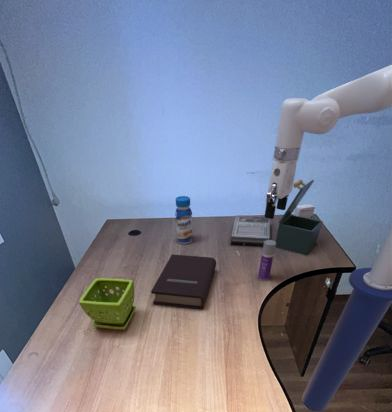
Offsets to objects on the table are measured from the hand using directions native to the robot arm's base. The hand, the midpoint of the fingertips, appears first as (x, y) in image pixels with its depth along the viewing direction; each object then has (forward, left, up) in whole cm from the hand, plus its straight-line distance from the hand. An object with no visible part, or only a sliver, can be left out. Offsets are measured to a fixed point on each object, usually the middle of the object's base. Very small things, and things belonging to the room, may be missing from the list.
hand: (274, 213), depth 93 cm
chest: (0, -34, -25) cm, 42 cm away
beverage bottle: (+49, -9, -25) cm, 56 cm away
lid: (+4, -34, -6) cm, 35 cm away
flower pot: (+31, +55, -25) cm, 68 cm away
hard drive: (+24, -34, -25) cm, 48 cm away
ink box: (+5, -53, -25) cm, 59 cm away
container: (0, +1, -25) cm, 25 cm away
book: (+23, +24, -25) cm, 41 cm away
